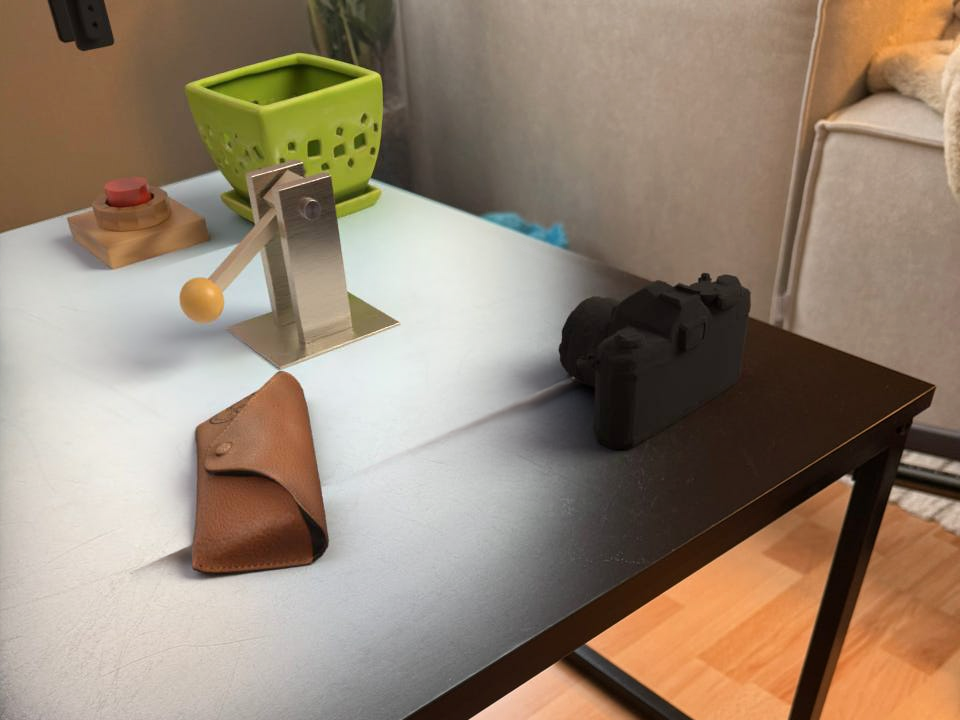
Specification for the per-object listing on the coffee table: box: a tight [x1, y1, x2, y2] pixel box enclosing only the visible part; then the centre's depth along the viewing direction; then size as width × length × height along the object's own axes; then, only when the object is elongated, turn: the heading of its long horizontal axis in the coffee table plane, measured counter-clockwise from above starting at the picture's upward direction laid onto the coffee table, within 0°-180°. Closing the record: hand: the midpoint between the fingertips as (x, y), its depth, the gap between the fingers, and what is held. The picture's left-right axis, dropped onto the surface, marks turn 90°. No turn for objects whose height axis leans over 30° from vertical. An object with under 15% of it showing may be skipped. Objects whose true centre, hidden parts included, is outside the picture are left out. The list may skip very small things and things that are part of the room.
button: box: [103, 176, 152, 208], centre depth 96 cm, size 4×4×2 cm
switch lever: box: [178, 170, 303, 324], centre depth 74 cm, size 13×3×3 cm
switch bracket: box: [225, 159, 401, 371], centre depth 78 cm, size 11×9×13 cm
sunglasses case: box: [191, 370, 330, 575], centre depth 65 cm, size 18×7×7 cm
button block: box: [66, 185, 210, 270], centre depth 98 cm, size 10×10×4 cm
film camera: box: [558, 272, 752, 450], centre depth 70 cm, size 15×10×9 cm, turn 133°
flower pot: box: [184, 52, 384, 224], centre depth 97 cm, size 14×14×13 cm
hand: (86, 41), depth 87 cm, fingers open, 3 cm apart
